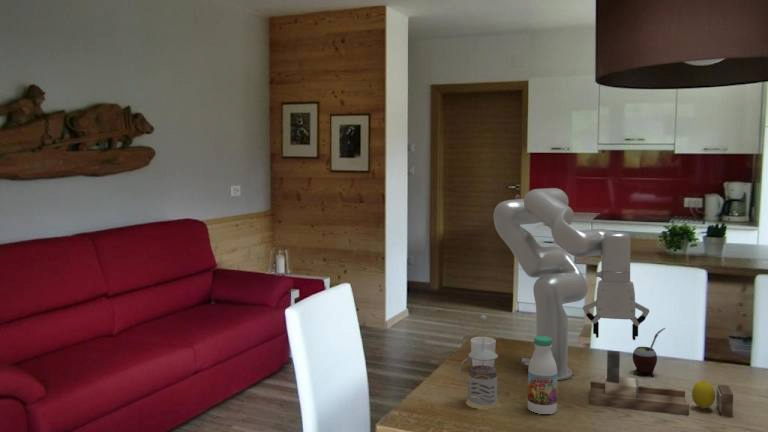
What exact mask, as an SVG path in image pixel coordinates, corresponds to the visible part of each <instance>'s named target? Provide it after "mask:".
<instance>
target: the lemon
mask: <svg viewBox="0 0 768 432" xmlns="http://www.w3.org/2000/svg"><path fill="white" fill-rule="evenodd" d="M691 396H692V400H693V402H694V403H695V405H696V406H698V407H700V409H701V410H705V409H706V408H710V407H712V405H713V404H714V403H715V400H716V391H715V388H714V387H713V385H712V384H711V383H709V382H708V381H706V380H705V379H703V380H701V381H697V382H696V383H695V384H694V385H693V387H692V391H691Z"/></svg>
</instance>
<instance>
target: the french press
mask: <svg viewBox="0 0 768 432" xmlns="http://www.w3.org/2000/svg"><path fill="white" fill-rule="evenodd" d="M487 317H488V316H486V315H484V314H481V315H480V316H479V320H480V321H482V337H483V349H477V350H474V351H472V352H471V351H470V352H469V353H468V357H467V358H465V359H463V360H462V361H461V363H460V365H459V368H458V378H459V379H460V381H461V382H462V383H463V384H464V385H466V386H467V387H468V397H467V400H468V399H469V400H470V401H471V402H473V403H476V404H479V405H491V404H495V403H496V402H497V400H498V373H496V372H497V368H496V367H494V368H493V367H490V366H484V361H492V360H497V359H498V358H499V354H497V353H496V352H495V353H494V352H493V351H491V350H488V349H484V337H485V336H484V335H485V333H484V332H485V331H484V322H485V321H487ZM472 359H474V360H479V361H483V365H480V366H473V365H472V366H471V367H470V368H469V371H470V372H469V375H468V377H469V379H468V381H469V382H468V381H467V380H466V379H465V378H463V376H462V369H461V367H462V365H463V364H464V362H467V363H468V365H470V364H471V360H472ZM486 376H487V377H486ZM488 377H489V378H488ZM479 394H484V395H479ZM471 396H478V397H479V398H480V399H481V400H480V399H478V398H471Z"/></svg>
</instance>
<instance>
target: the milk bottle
mask: <svg viewBox="0 0 768 432" xmlns="http://www.w3.org/2000/svg"><path fill="white" fill-rule="evenodd" d="M533 339H534V340H533V346H534V351H533V353H532V356H531V358H530V359H531V360H530V363H529V366H528V369H527V409H528V410H530V411H529V412H531V411H532V412H531V413H533V412H535V413H538V414H537V415H540V414H550V415H553V414H555V413H557V411H558V410H557V409H558V380H557V366H556V362H555V360H554V358H553V355H552V352H551V347H552V339H551V338H550V337H547V336H537V337H536V336H535V337H534V338H533ZM535 413H534V414H535Z"/></svg>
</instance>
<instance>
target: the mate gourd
mask: <svg viewBox="0 0 768 432" xmlns="http://www.w3.org/2000/svg"><path fill="white" fill-rule="evenodd" d="M665 329H666V327H663V328H662V329H660V330H658V331H657V332H656V333H655V335H654V338H653V340H652V342H651V344H650V347H648V346H637V347H636V348H635V349H634V350H633V353H632V363H633V365H634V366H635V368H636V369H635V372H636V373H637V374H636V376H639V377H641V376H648V377H650V378H651V377H652V378H653V377H654V371H655V368H656V366H657V363H658V355H657V352H656V350H655V349H654V348H653V347H654V344H655V342H656V340H657V338H658V336H659V334H661V333H662V332H663V331H664V330H665Z"/></svg>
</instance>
